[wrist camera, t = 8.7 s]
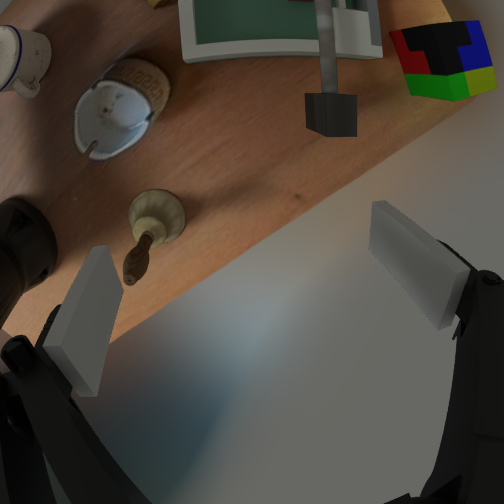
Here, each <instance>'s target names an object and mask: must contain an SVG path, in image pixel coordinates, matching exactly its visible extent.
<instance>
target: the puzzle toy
mask: <svg viewBox="0 0 504 504" xmlns="http://www.w3.org/2000/svg"><path fill="white" fill-rule="evenodd" d="M389 34H390V36H391V39H392V41H393V44H394V46H395V49H396V52H397V54H398V57H399V60H400V63H401V65H402V68H403V71H404V74H405V77H406V80H407V84H408V87H409V90H410V93H411V95H417V96H424V97H431V98H437V99H443V100H449V101H457V100H461V99H464V98H467V97H470V96H474V95H477V94H480V93H484V92H488V91H491V90H495V89H497V82H496V78H495V73H494V69H493V66H492V61H491V57H490V54H489V50H488V47H487V44H486V40H485V37H484V34H483V31H482V28H481V25H480V22H479V20H477V21H459V22H446V23H436V24H428V25H422V26H417V27H411V28H406V29H401V30H396V31H392V32H389Z"/></svg>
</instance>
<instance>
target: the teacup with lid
mask: <svg viewBox="0 0 504 504" xmlns="http://www.w3.org/2000/svg"><path fill="white" fill-rule="evenodd" d="M51 54H52V50H51V44H50V42H49V40H48V38H47V37H46V36H45V35H43V34H41V33H37V32H32V31H27V30H22V29H17V28H15V27H13V26H10V25H2V26H0V92H7V91H16V92H17V93H18V94H19V95H21V96H22V97H24V98H27V99H31V98H34V97H35V96H36V95H37V94H38V93H39V91H40V84H39V81H40V80H41V78H42V77H43V76H44V74H45V73H46V71H47V69H48V67H49V64H50V61H51ZM30 87H31V88H32V90H31V89H29V88H30Z"/></svg>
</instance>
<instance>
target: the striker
mask: <svg viewBox="0 0 504 504" xmlns="http://www.w3.org/2000/svg"><path fill="white" fill-rule="evenodd" d="M288 1H300V2H313V1H314V0H288ZM315 9H316V19H317V29H318V40H319V53H320V67H321V83H322V93H305V112H306V128H308V129H310V130H313V131H315V132H317V133H319V134H322V135H324V136H326V137H357V95H347V94H338V80H337V63H336V49H335V36H334V26H333V16H332V7H331V0H315Z"/></svg>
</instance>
